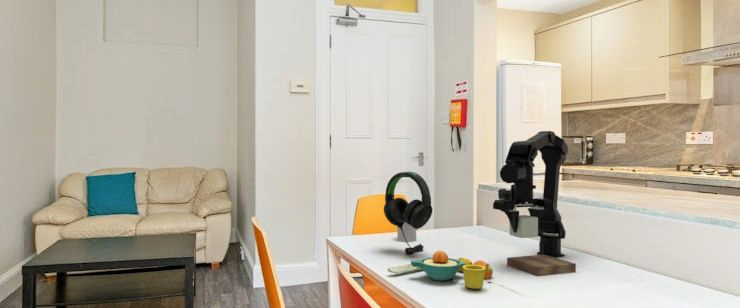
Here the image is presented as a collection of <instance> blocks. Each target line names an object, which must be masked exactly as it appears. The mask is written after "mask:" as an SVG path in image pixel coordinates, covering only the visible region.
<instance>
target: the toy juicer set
mask: <svg viewBox="0 0 740 308" xmlns="http://www.w3.org/2000/svg"><path fill="white" fill-rule="evenodd" d="M411 271H416V272H419V271H424V272H423V273H425V274H426V275H427V276H428V277H430V279H431V280H434V281H449V280H451V279H452V278H453V277H454V276H455V275H456V274H457V273H458V272H459V273H460V272H461V273H463V279H464V280H463V281H464V285H465V287H467V288H469V289H473V290H474V289H482V288H483V286H484V281H485V280H489V279H491V278H492V276H493V273H494V271H493V268H492V266H491V265H490V263H487V262H485V260H484V261H483V260H475V262H472V260H471V259H468V258H464V257H458V258H457V259H456V258H451V257H450V258H449V256H448V254H447V253H446V252H445V251H442V250H438V251H435V252H434V253H433V256H432V257H425V258H422V259H411V260H410V263H409V264H402V265H396V266H390V267H388V268H387V272H389V273H393V274H400V273H405V272H411Z"/></svg>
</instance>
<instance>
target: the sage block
mask: <svg viewBox="0 0 740 308" xmlns="http://www.w3.org/2000/svg"><path fill="white" fill-rule="evenodd" d="M509 236H512V237H515V238H520V239H526V238H527V239H530V238H538V237H539V236H538V217H533V216H530V215H526V214H525V215H524V214H521V215H520V214H519V219H518V228H517V232H516V233H514V232H513V229H512V227H511V224H510V223H509Z"/></svg>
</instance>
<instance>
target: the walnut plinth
mask: <svg viewBox="0 0 740 308" xmlns="http://www.w3.org/2000/svg"><path fill="white" fill-rule="evenodd" d="M506 262H507V263H506V265H507V266H508V267H510V268H513V269H516V270H518V271H522V272H524V273H528V274H530V275H533V276H535V277H541V276H542V277H543V276H550V275H553V276H554V275H559V274H561V275H562V274H568V273H569V274H571V273H576V270H577V268H576V267H577V264H576V263H574V262H571V261H568V260H564V259H562V258H561V259H560V258H558V257H557V258H556V257H550V256H547V255H541V254H534V255H532V254H531V255H523V256H512V257H507V258H506Z"/></svg>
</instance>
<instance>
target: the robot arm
mask: <svg viewBox="0 0 740 308" xmlns="http://www.w3.org/2000/svg"><path fill="white" fill-rule="evenodd" d="M508 149H509V150H508V152H507V156H506V158H505V161H504V162H505V165H503V166H502V167H501V168H500V171H499V177H500V179H501V180H502V181H503V182H504V183H505V184H511V186H510V189H509V190H508V189H506V188H500V189H498V193H497V194H498V199H495V200H494V202H493V203H492V209H494V210H497V211H498V210H499V211H500V212H502V213H504V214H505V215H506V217H507V219H508V221H509V225H510V224H511V227H512V229H513V232H514V233H516V232H517V228H518V219H519V215H520V210H517V208H527V211H528V213H529V216H533V217H538V237H539V242H538V243H539V245H538V246H539V248H538V250H539V251H537V252H536V255H547V256H550V257H554V258H556V257H563V256H565V254H564V253H562V240H564V239H566V229H565V226H564V225H563V223H562V215H561V214H560V212H559V210H558V196H559V188H560V187H559V184H560V173H561V166H562V165H564V163H565V162H566V159H567V155H568V152H569V151H568V150H569V147H568V145H567V142H566V141H565V140H564V139H563V138H562V137H560V136H558V135H557V134H556V133H555V132H554V131H552V130H542V131H538V132H537V133H536V134H535V135H533V136H530V137H529V138H527V139H526V140H517V141H513V142H512V143H511V145H510V147H509V148H508ZM538 151H539V153H540V155H541V156H540V157H541V160H542V162H543V163H544V166H545V167H544V168H545V170H544V181H543V193H542V194H543V195H542V197H536V198H535V197H534V190H535V189H536V188H537V185H534V168H535V166H536V165H535V163H534V161H535V159H536V158H537V156H538V154H539V153H538Z"/></svg>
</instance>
